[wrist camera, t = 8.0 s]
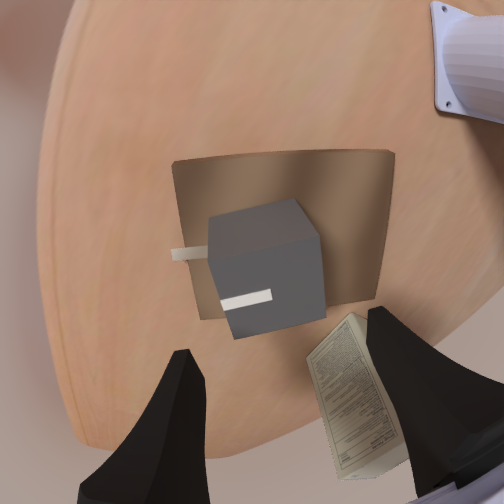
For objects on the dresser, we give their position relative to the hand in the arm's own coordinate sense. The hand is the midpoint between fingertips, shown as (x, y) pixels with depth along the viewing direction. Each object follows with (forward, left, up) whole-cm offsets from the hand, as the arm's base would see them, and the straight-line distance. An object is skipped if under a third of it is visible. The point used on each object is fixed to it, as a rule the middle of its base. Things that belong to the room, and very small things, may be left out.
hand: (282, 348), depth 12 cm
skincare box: (-7, +11, -10) cm, 16 cm away
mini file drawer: (0, 0, -8) cm, 8 cm away
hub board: (-2, 0, -9) cm, 9 cm away
